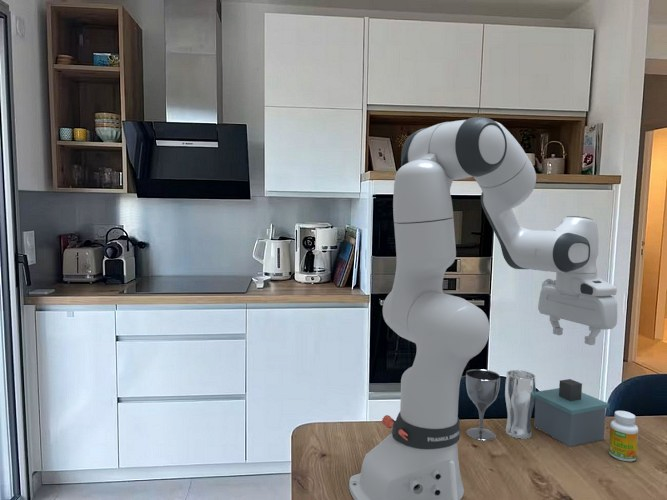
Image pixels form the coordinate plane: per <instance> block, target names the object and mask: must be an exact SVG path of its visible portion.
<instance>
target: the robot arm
mask: <svg viewBox="0 0 667 500" xmlns="http://www.w3.org/2000/svg"><path fill="white" fill-rule="evenodd" d="M400 155H401V156H400V161H401V162H400V165H401V167H400V168H398V170H397V171H396V173H395V177H394V183H393V198H392V208H393V209H392V211H393V212H392V213H393V226H394V228H393V229H394V239H395V253H396V254H395V255H396V265H395V267H396V268H395V274H394V279H393V284H392V288H391V291H390V292H389V293H388V294H387V296H386V297H385V299H384V301H383V304H382V317H383V320H384V322H385V324H386V325H387V326H388V327H389V328H390V329H391V330H392V331H393V332H394V333H395V334H396V335H398V336H399V337H401V338H402V339H405V340H407V341H408V342H412V343H414V344H415V345H416V354H415V357H414V360H413V363H412V366H410V367H408V368H407V369H406V370H404V372H403V373H402V375H401V379H400V406H399V408H400V409H399V410H400V411H399V412H398V415H397V417H396V419H394V418H392V417H391V415H388V414H386V415H384V416H383V418H382V419H381V424H383V425H384V426H385V427H386V428H387V429H391V433H390V434H388V435H387V436H386V437H385V438H384V439H382V440H381V441H380V442H379V443H378V444H377V445H375V446H374V447H373V448H372V449H371V450H369V451H368V452H367V453H366V454H365V456H364V457H363V460H362V463H361V464H362V465H361V469H360V473H356V474H354V475H352V476H350V478H349V481H348V482H349V483H348V488H349V489H348V490H349V493H350V495H351V496H352V497H351V498H353V500H462V498H463V497H464V494H465V488H464V484H463V480H462V475H461V471H460V463H459V451H458V446H459V445H458V442H459V441H460V435H461V434H460V433H461V432H460V431H461V430H460V429H461V427H460V424H461V423H460V418H459V417H458V415H459V399H460V398H459V397H460V385H461V379H462V377H463V373H464V370H465V369H466V366H467V364H468V363H469V361H470V360H472V359H473V358H474V357H476V356H477V355H479V354H480V353H481V352H482V350H483V349H484V348H485V347H486V345H487V342H488V340H489V336H490V323H489V319H488V316H487V314H486V313H485V312H484V310H482V309H481V308H480V307H478V306H477V305H475V304H474V303H471V302H470V301H468V300H466V299H465V298H462V297H461V296H455V295H453V294H448V293H444V289H443V282H444V279H445V278H444V277H445V273H446V271H447V269H448V268H449V267H451V266H452V265H453V264H454V263H455V260H456V257H457V250H456V249H457V248H456V235H455V233H456V232H455V222H454V220H455V219H454V209H453V208H454V207H453V200H452V196H451V187H452V184H453V181H457V180H463V179H468V178H472V177H473V178H474V180H475V182H476V183H477V184H478V186H479V188H480V189H481V191H482V192H481V195H480V203H481V207H482V210H483V212H484V214H485V216H486V218H487V220H488V222H489V224H490V226H491V228H492V230H493V232H494V234H495V236H496V238H497V240H498V242H499V246H500V249H501V255H502V256H503V259H504V260H505V262H506V264H507V265H508V266H509V267H510V268H512V269H513V270H532V271H533V270H534V271H540V272H541V271H542V272H551V273H556V274H555V279H552V278H547V279H545V280H544V281H543V282H542V283H541V290H540V293H539V297H538V304H537V305H538V306H537V310H538V311H539V313H540V314H542V315H545V316H549V322H550V324H551V326H552V334H553V335H556V336H562V335H563V332H564V328H563V327H561V325H560V322H559V321H560V320H565V321H569V322H573V323H575V324H580V325H583V326H588V331H590V332H589V334H588V335H587V336H586V335H585V336H584V344H586V345H590V346H594V345H595V344H596V338H597V336H598V335H599V334H600V333H601V330H604V331H605V330H613V329H614V328H615V327H616V326H617V324H618V304H617V300H616V298H615V297H614V296H616V295H617V290H618V289H617V287H616V286H615V285H614V284H611V283H610V282H608V281H605V280H604V279H602V278H601V277H599V276H598V269H597V258H598V256H599V232H598V231H599V230H598V226H597V222H596V220H594V219H592V218H590V217H587V216H576V215H571V216H570V215H568V216H567V215H566V216H564V217H562V218H561V221H560V224H559V225H558V226H557V227H555V228H553V229H552V230H541V229H539V230H538V229H528V228H526V227H523V226H521V225H520V223H519V221H518V219H517V217H516V215H515V213H514V211H513V209H515V208H517V207H518V206H520V205H522V203H524V202H525V201H526V200H527V199H528V198H529V197H530V196H531V194H532V193H533V191H534V190H535V187H536V183H537V172H536V170H535V167H534V165H533V163H532V161H531V160H530V158H529V157H528V155H527V154H526V152H525V150H524V148H523V147H522V146H521V144H520V143H519V142H518V140H517V139H516V138H515V137H514V136H513V134H511V132H510V131H509V130H508V129H507V128H506V127H505V126H504V125H503V124H502V123H500V122H498V121H495V120H493V119H491V118H487V117H480V116H479V117H478V116H477V117H476V116H475V117H469V118H468V119H461V120H454V121H453V120H452V121H445V122H441V123H437V124H434V125H432V126H429V127H424V128H421V129H419V130H416V131H415V132H412V133H411V134H410V135H409V136H408V137H407V138H406V139H405V141H404V143H403V146H402V148H401V154H400Z"/></svg>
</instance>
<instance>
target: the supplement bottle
mask: <svg viewBox="0 0 667 500" xmlns="http://www.w3.org/2000/svg"><path fill="white" fill-rule="evenodd" d="M638 439H639V426H638V425H636V415H635V414H633V413H631V412H629V411H625V410H615V411H614V419H613V420H612V421H610V426H609V442H608V453H609V455H610V456H611V457H613V458H614V459H616V460H619V461H624V462H633V461H636V460H637V458H638V457H637V455H638V443H639V442H638V441H639V440H638Z"/></svg>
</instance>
